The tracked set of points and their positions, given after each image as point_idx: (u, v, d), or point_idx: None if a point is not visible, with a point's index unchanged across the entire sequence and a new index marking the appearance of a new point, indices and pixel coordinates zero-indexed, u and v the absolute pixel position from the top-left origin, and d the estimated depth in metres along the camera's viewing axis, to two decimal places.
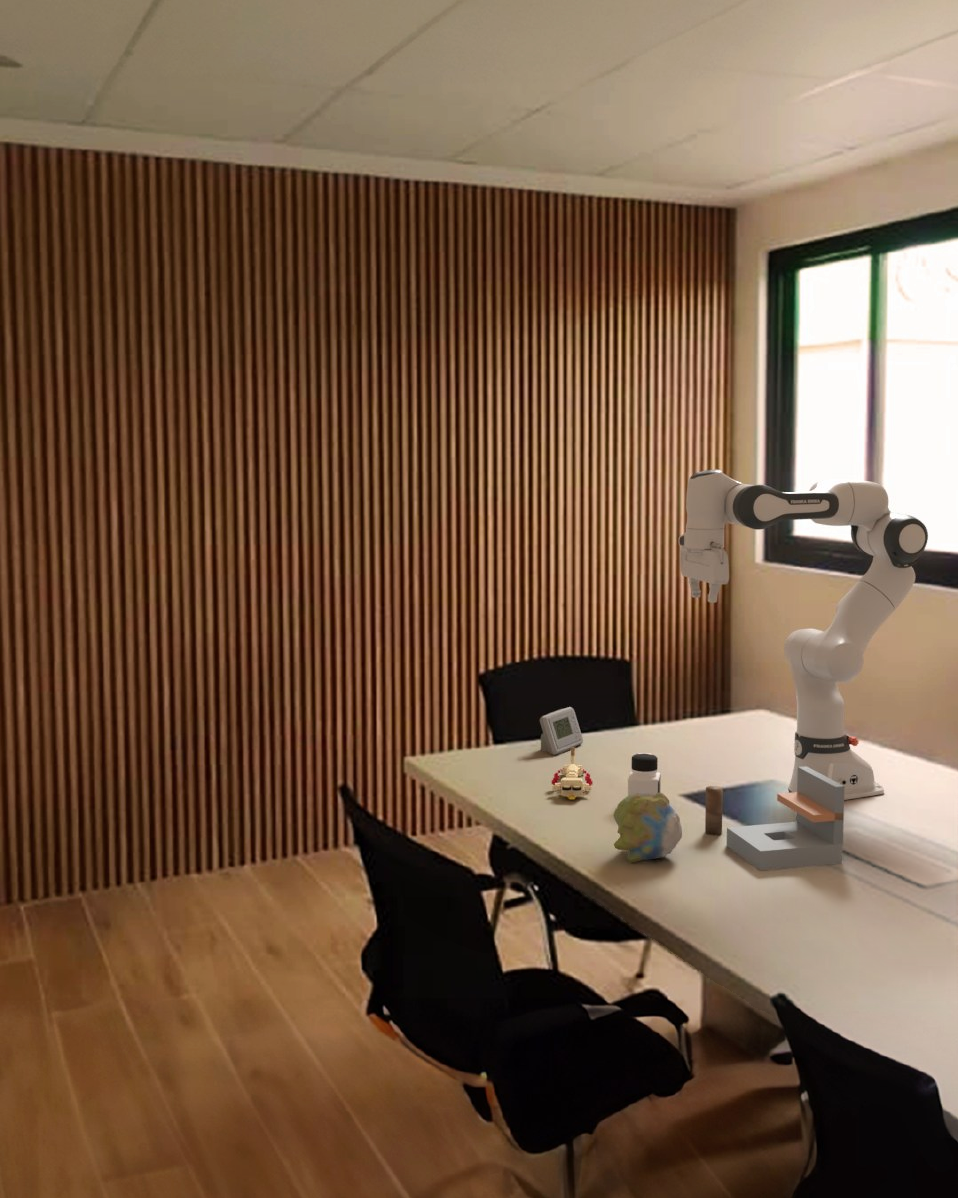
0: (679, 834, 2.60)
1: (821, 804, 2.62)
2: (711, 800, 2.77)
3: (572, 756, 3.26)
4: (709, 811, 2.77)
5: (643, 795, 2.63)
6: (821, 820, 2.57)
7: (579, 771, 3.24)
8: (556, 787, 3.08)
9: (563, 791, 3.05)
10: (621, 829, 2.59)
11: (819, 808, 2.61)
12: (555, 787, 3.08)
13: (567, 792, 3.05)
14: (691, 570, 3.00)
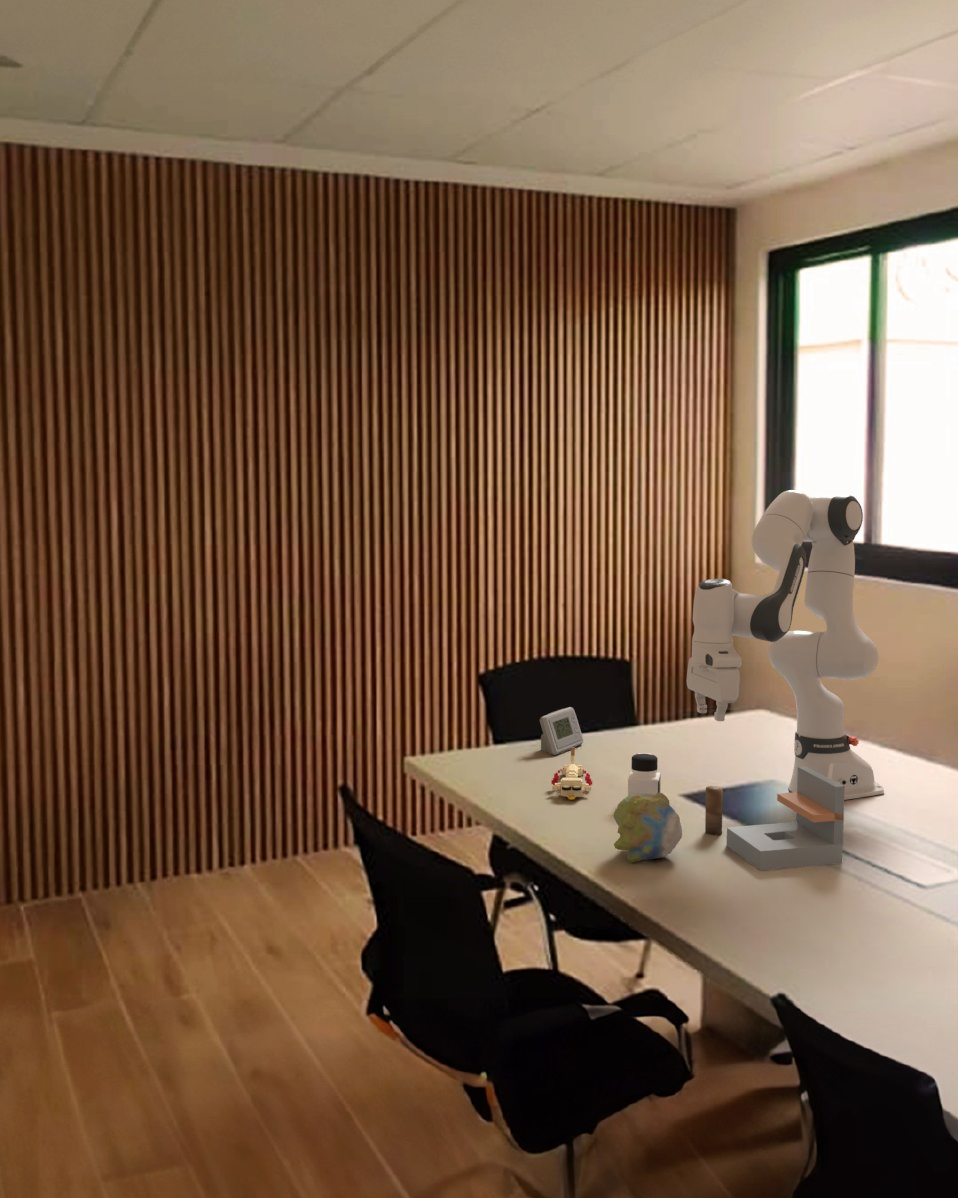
0: (679, 834, 2.60)
1: (821, 804, 2.62)
2: (711, 800, 2.77)
3: (572, 756, 3.26)
4: (709, 811, 2.77)
5: (643, 795, 2.63)
6: (821, 820, 2.57)
7: (579, 771, 3.24)
8: (556, 787, 3.08)
9: (563, 791, 3.05)
10: (621, 829, 2.59)
11: (819, 808, 2.61)
12: (555, 787, 3.08)
13: (567, 792, 3.05)
14: None
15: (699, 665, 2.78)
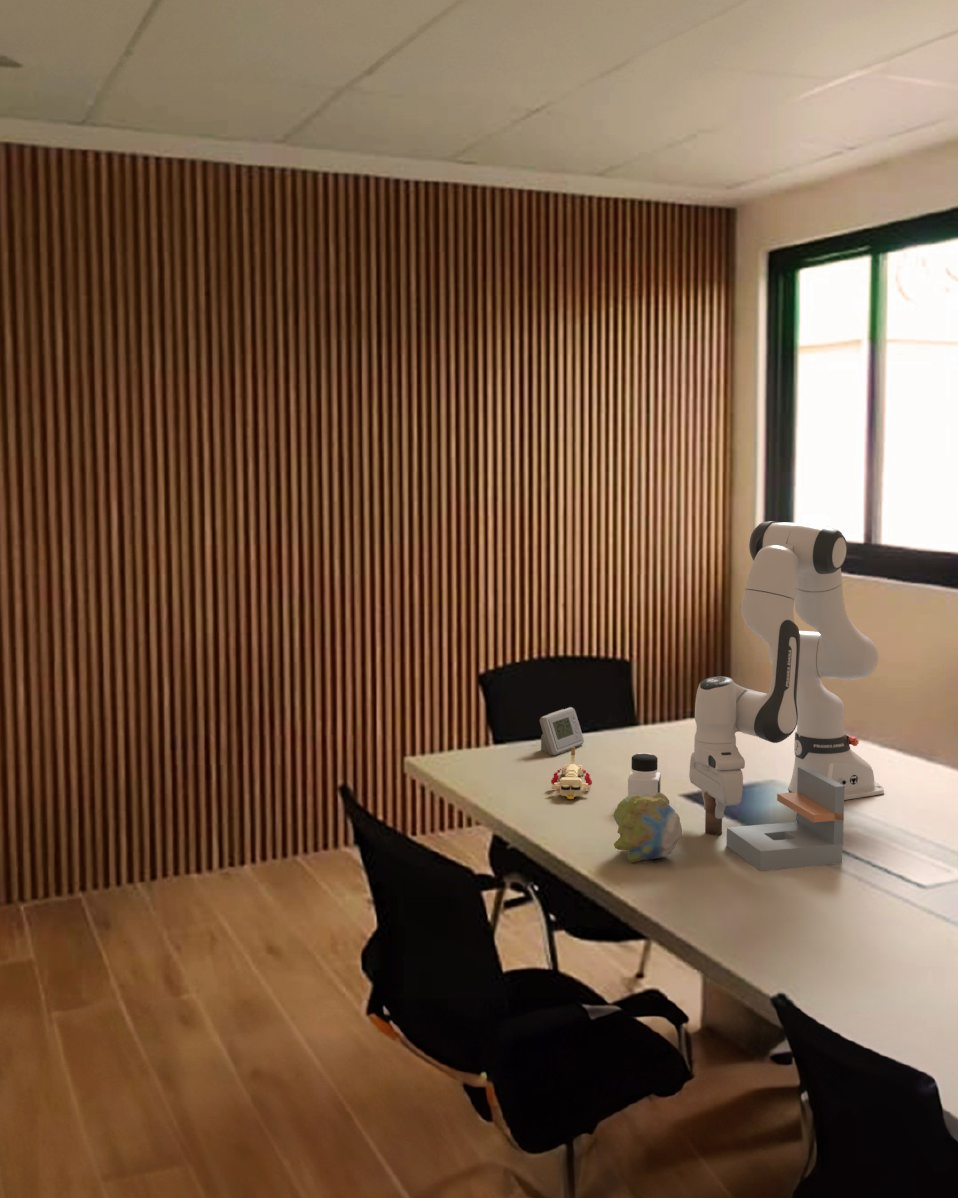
0: (679, 834, 2.60)
1: (821, 804, 2.62)
2: (711, 800, 2.77)
3: (572, 756, 3.26)
4: (709, 811, 2.77)
5: (643, 795, 2.63)
6: (821, 820, 2.57)
7: (579, 771, 3.24)
8: (555, 787, 3.08)
9: (562, 791, 3.06)
10: (621, 829, 2.59)
11: (819, 808, 2.61)
12: (554, 787, 3.08)
13: (566, 792, 3.05)
14: None
15: (702, 764, 2.76)
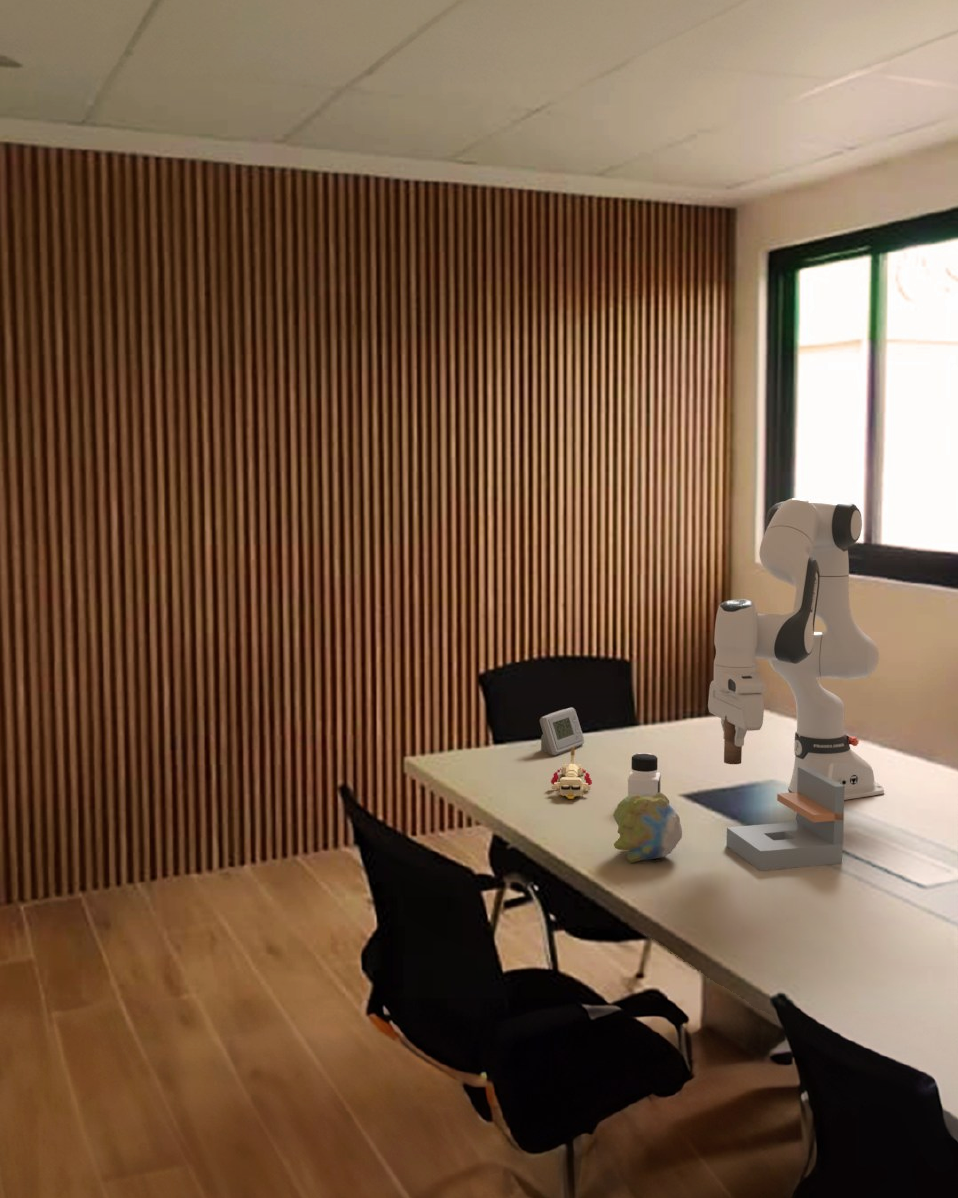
0: (679, 834, 2.60)
1: (821, 804, 2.62)
2: (731, 728, 2.67)
3: (572, 756, 3.26)
4: (728, 739, 2.67)
5: (643, 795, 2.63)
6: (821, 820, 2.57)
7: (579, 771, 3.24)
8: (555, 786, 3.08)
9: (562, 790, 3.06)
10: (621, 829, 2.59)
11: (819, 808, 2.61)
12: (554, 786, 3.08)
13: (566, 791, 3.06)
14: None
15: (721, 690, 2.66)
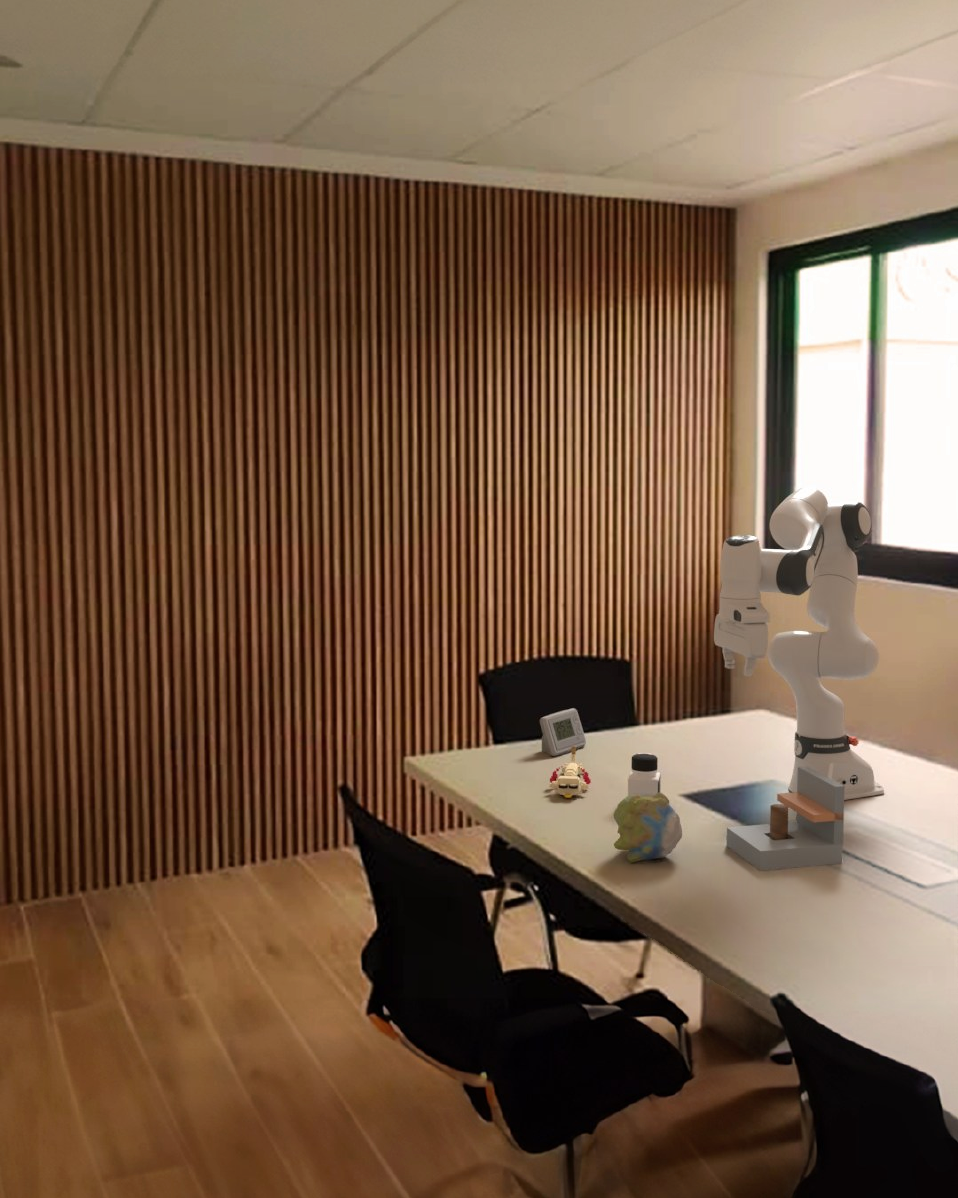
0: (679, 834, 2.60)
1: (821, 804, 2.62)
2: (777, 820, 2.62)
3: (573, 755, 3.27)
4: (774, 831, 2.63)
5: (643, 795, 2.63)
6: (821, 820, 2.57)
7: (579, 770, 3.25)
8: (553, 785, 3.09)
9: (560, 789, 3.07)
10: (621, 829, 2.59)
11: (819, 808, 2.61)
12: (552, 785, 3.09)
13: (564, 790, 3.07)
14: None
15: (727, 621, 2.80)
